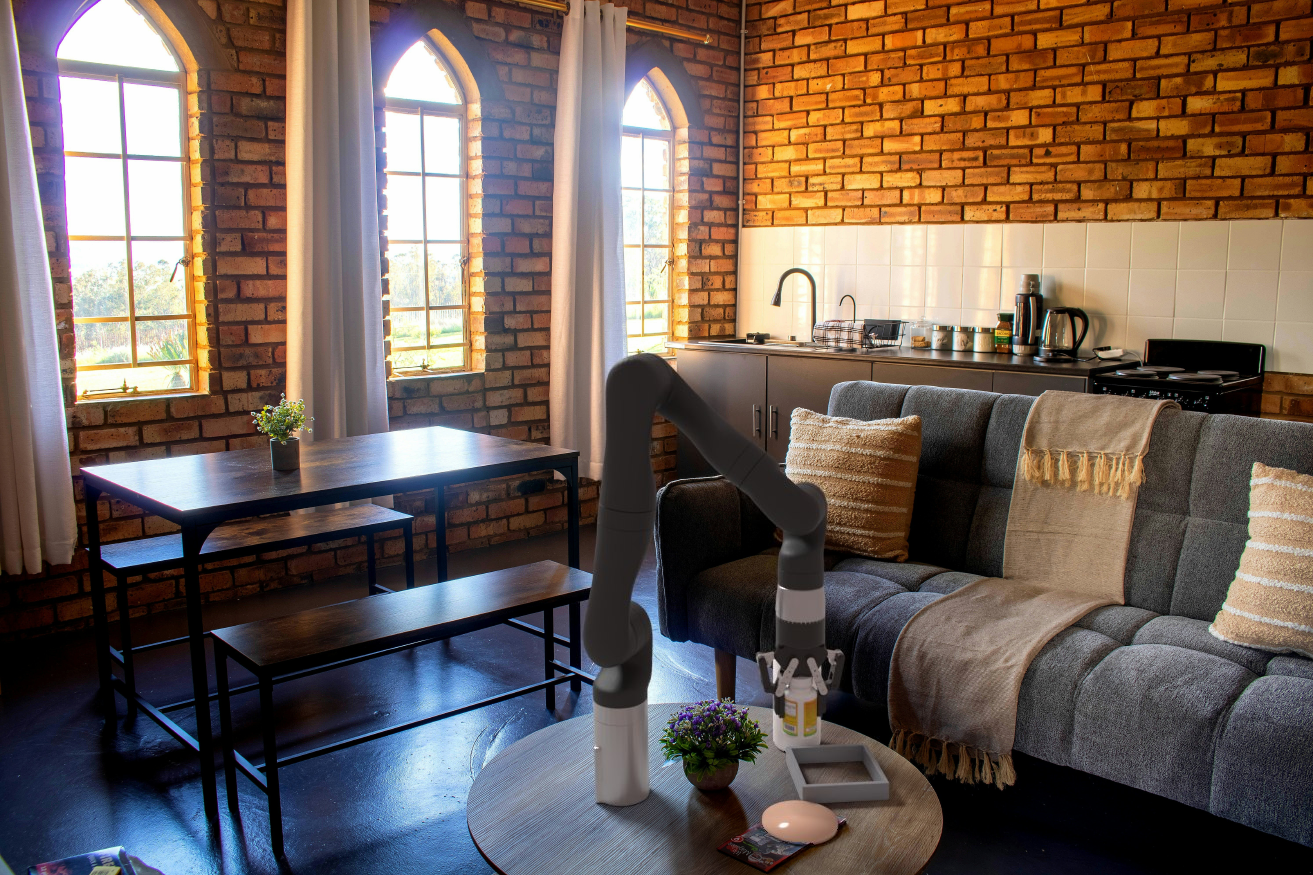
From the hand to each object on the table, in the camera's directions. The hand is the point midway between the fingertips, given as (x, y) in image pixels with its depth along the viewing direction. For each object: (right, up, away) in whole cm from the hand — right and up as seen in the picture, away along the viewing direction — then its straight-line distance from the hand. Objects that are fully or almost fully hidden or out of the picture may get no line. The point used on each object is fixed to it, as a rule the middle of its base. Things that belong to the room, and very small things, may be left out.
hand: (799, 715), depth 158 cm
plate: (0, -18, +3) cm, 18 cm away
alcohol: (+4, -14, +30) cm, 34 cm away
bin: (+9, -16, +17) cm, 25 cm away
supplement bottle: (0, -3, 0) cm, 3 cm away
